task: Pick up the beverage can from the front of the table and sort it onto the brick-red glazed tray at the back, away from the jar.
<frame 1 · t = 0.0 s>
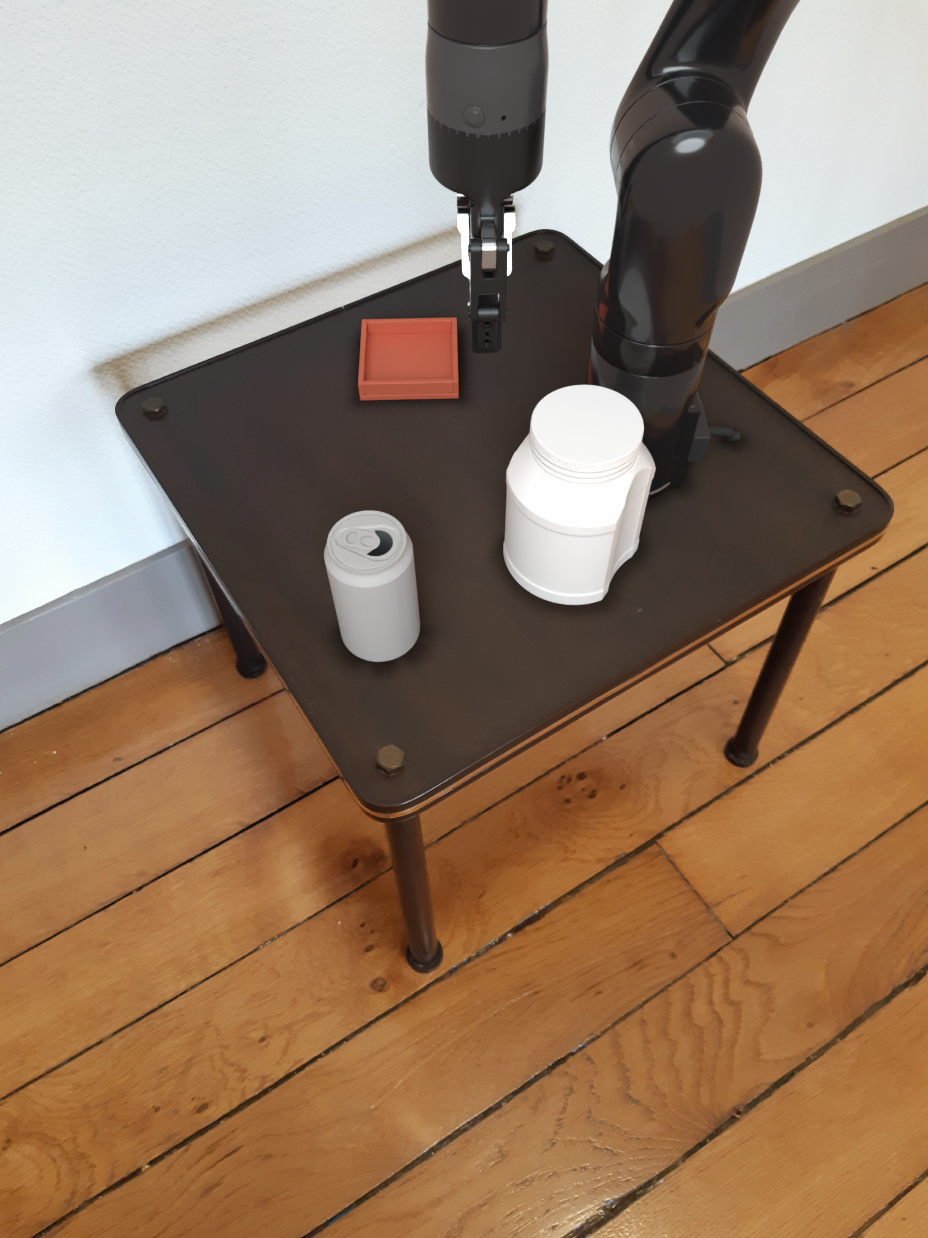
hand: (484, 312, 72), 17 cm above the table, tool pointing down, fingers open, 8 cm apart
jar: (569, 552, 81), on the table
beverage can: (381, 634, 76), on the table
red tray: (410, 366, 94), on the table
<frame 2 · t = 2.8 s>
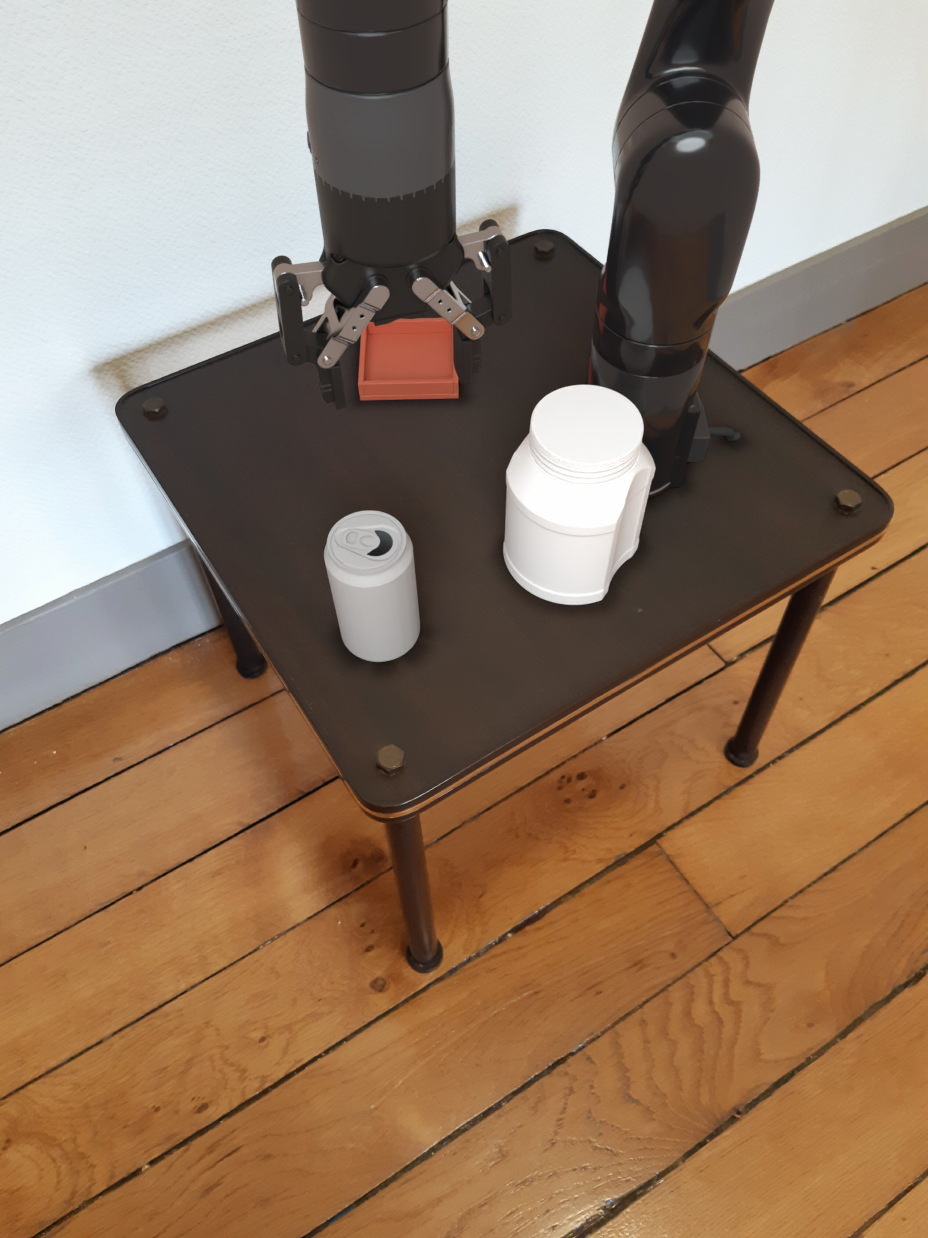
hand: (401, 387, 63), 21 cm above the table, tool pointing down, fingers open, 8 cm apart
nothing on the table moved.
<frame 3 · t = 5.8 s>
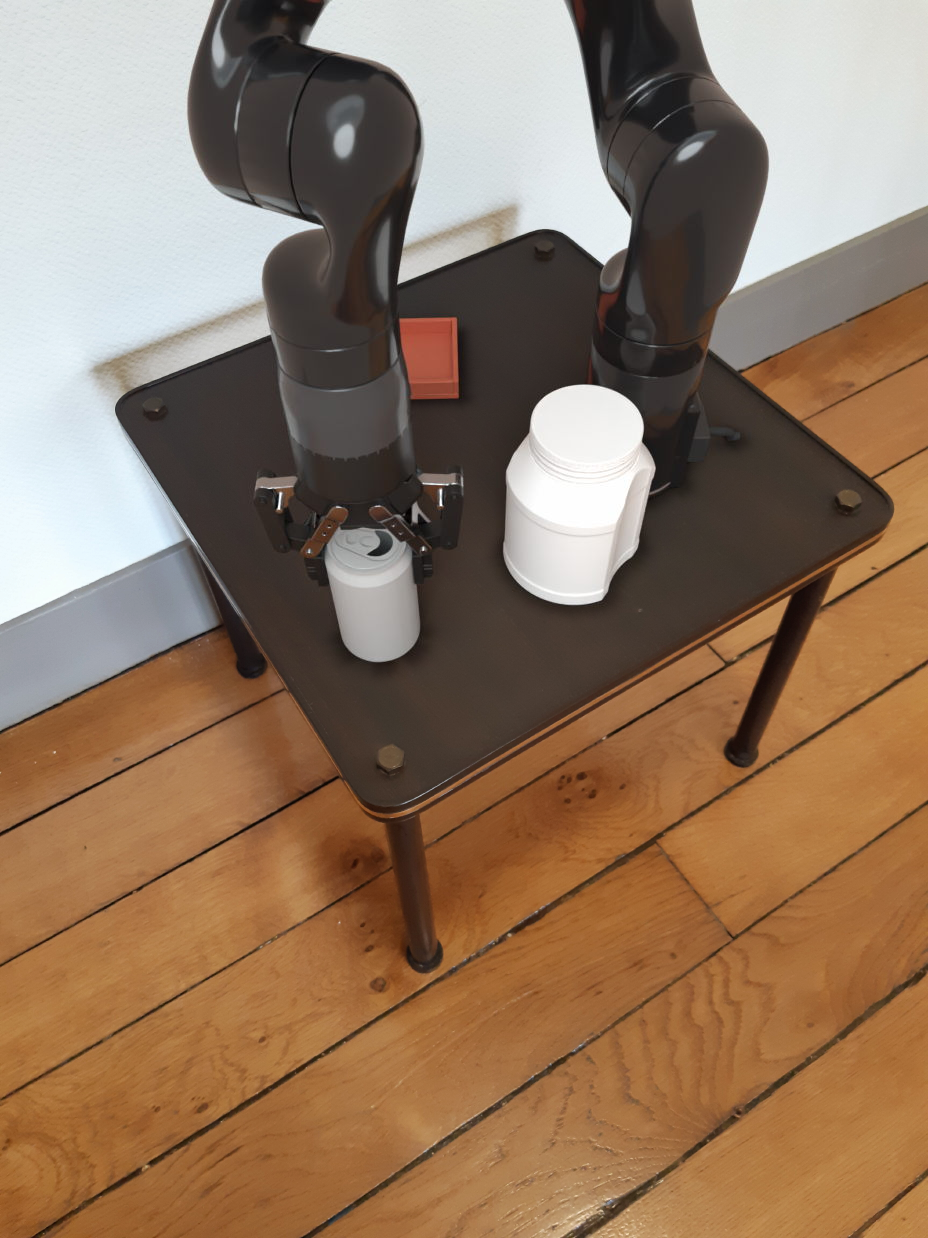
hand: (372, 575, 70), 8 cm above the table, tool pointing down, fingers closed on beverage can, 6 cm apart
beverage can: (381, 634, 76), on the table, touching gripper
everything else where it was.
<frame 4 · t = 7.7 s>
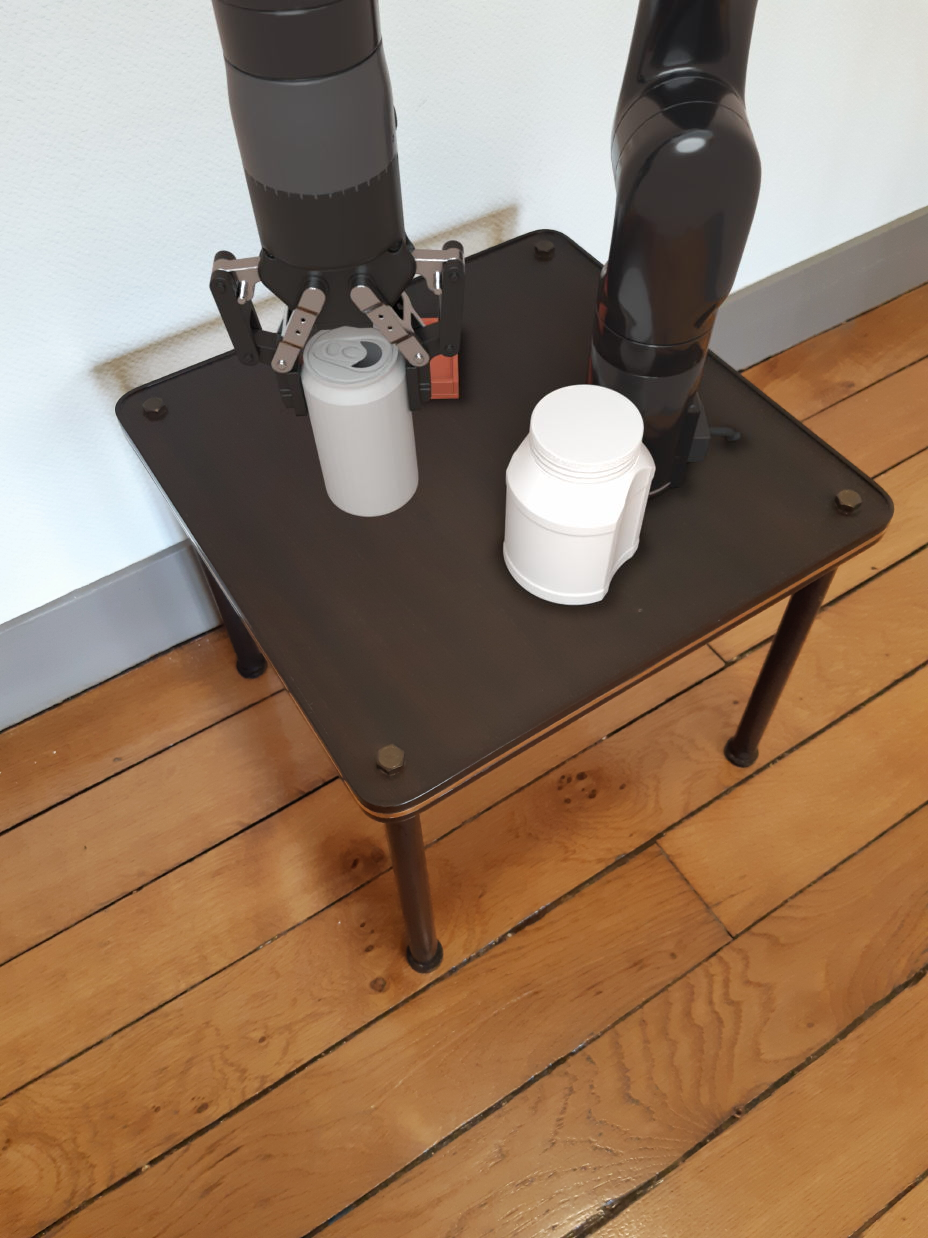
hand: (359, 403, 59), 23 cm above the table, tool pointing down, fingers closed on beverage can, 6 cm apart
beverage can: (373, 490, 65), point 15 cm above the table, touching gripper
everything else where it was.
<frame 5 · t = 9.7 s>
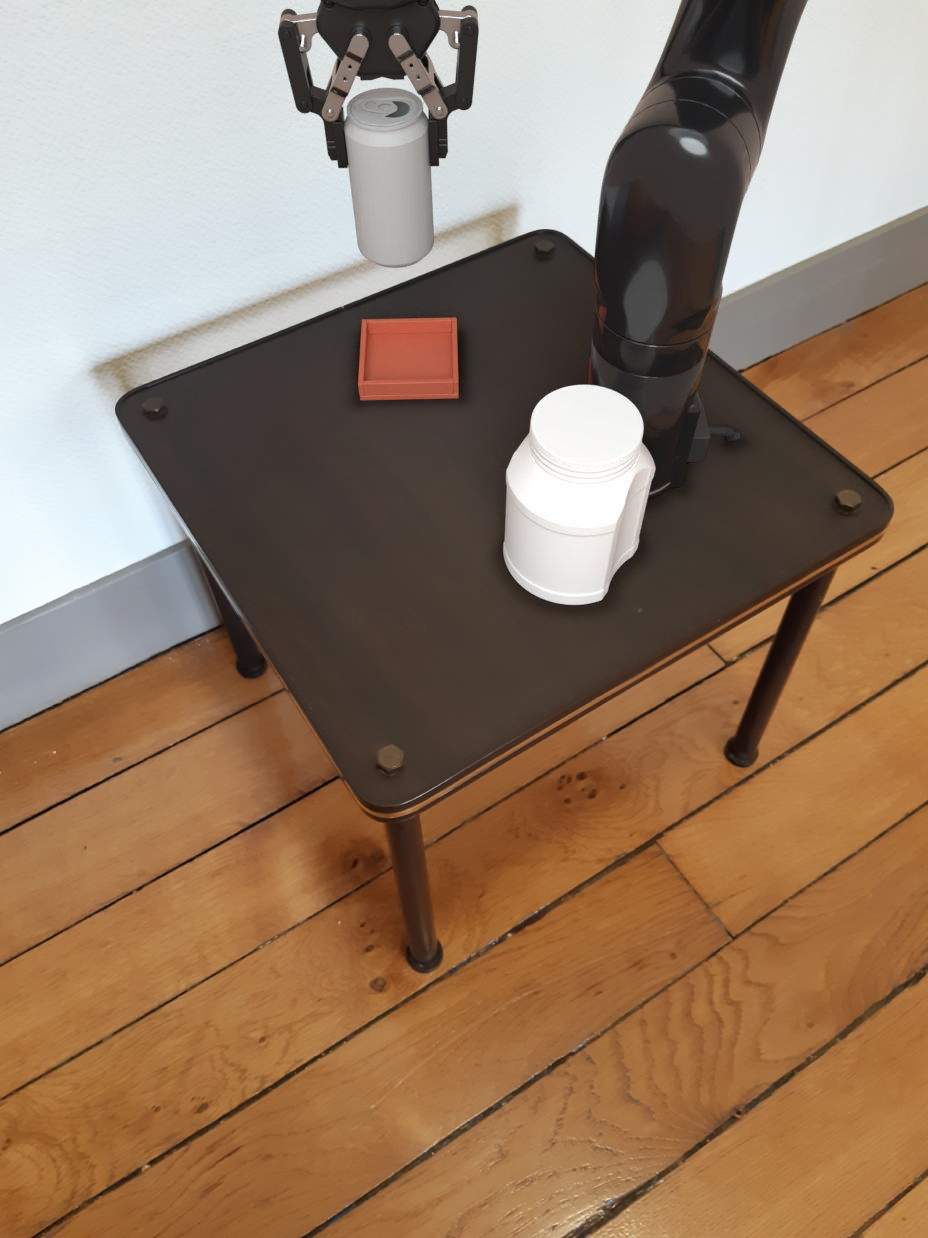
hand: (389, 160, 73), 24 cm above the table, tool pointing down, fingers closed on beverage can, 6 cm apart
beverage can: (396, 252, 79), point 16 cm above the table, touching gripper
everything else where it was.
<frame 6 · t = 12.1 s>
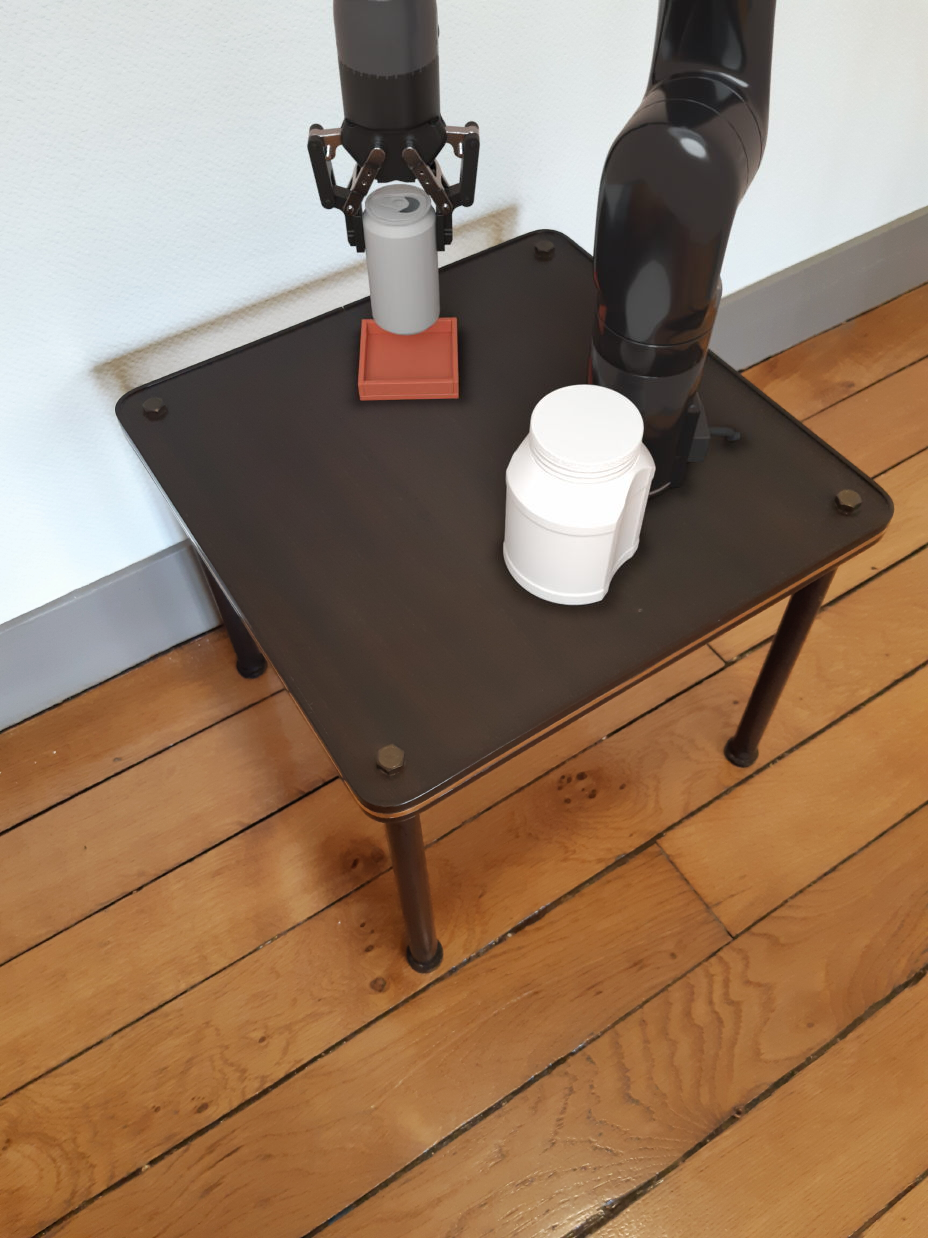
hand: (401, 246, 83), 14 cm above the table, tool pointing down, fingers closed on beverage can, 6 cm apart
beverage can: (406, 320, 90), point 6 cm above the table, touching gripper
everything else where it was.
when the fingers open (8 cm above the table, at t = 14.0 s): beverage can stays where it is, resting on red tray.
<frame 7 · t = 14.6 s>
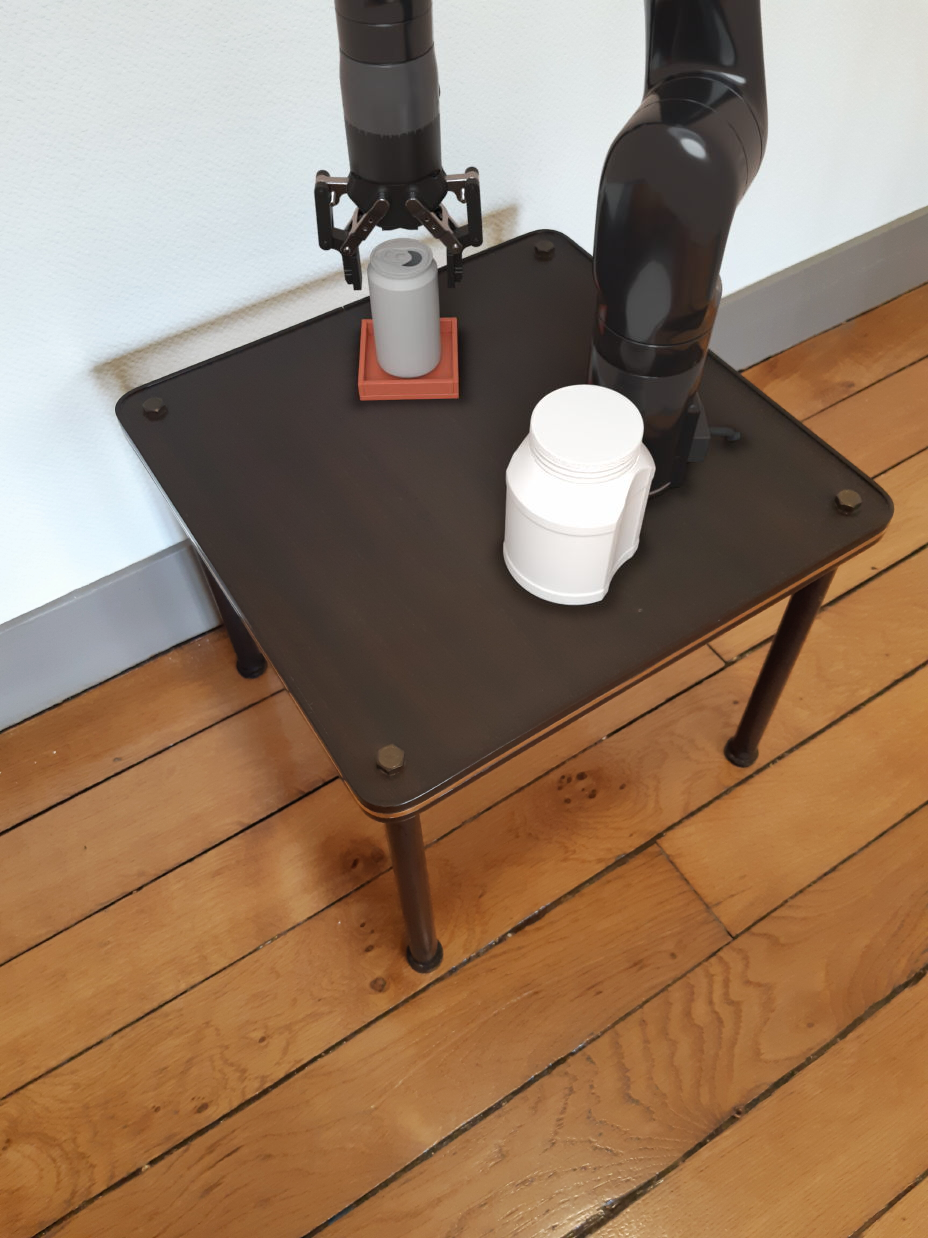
hand: (404, 283, 86), 10 cm above the table, tool pointing down, fingers open, 8 cm apart
beverage can: (409, 363, 94), resting on red tray
everything else where it was.
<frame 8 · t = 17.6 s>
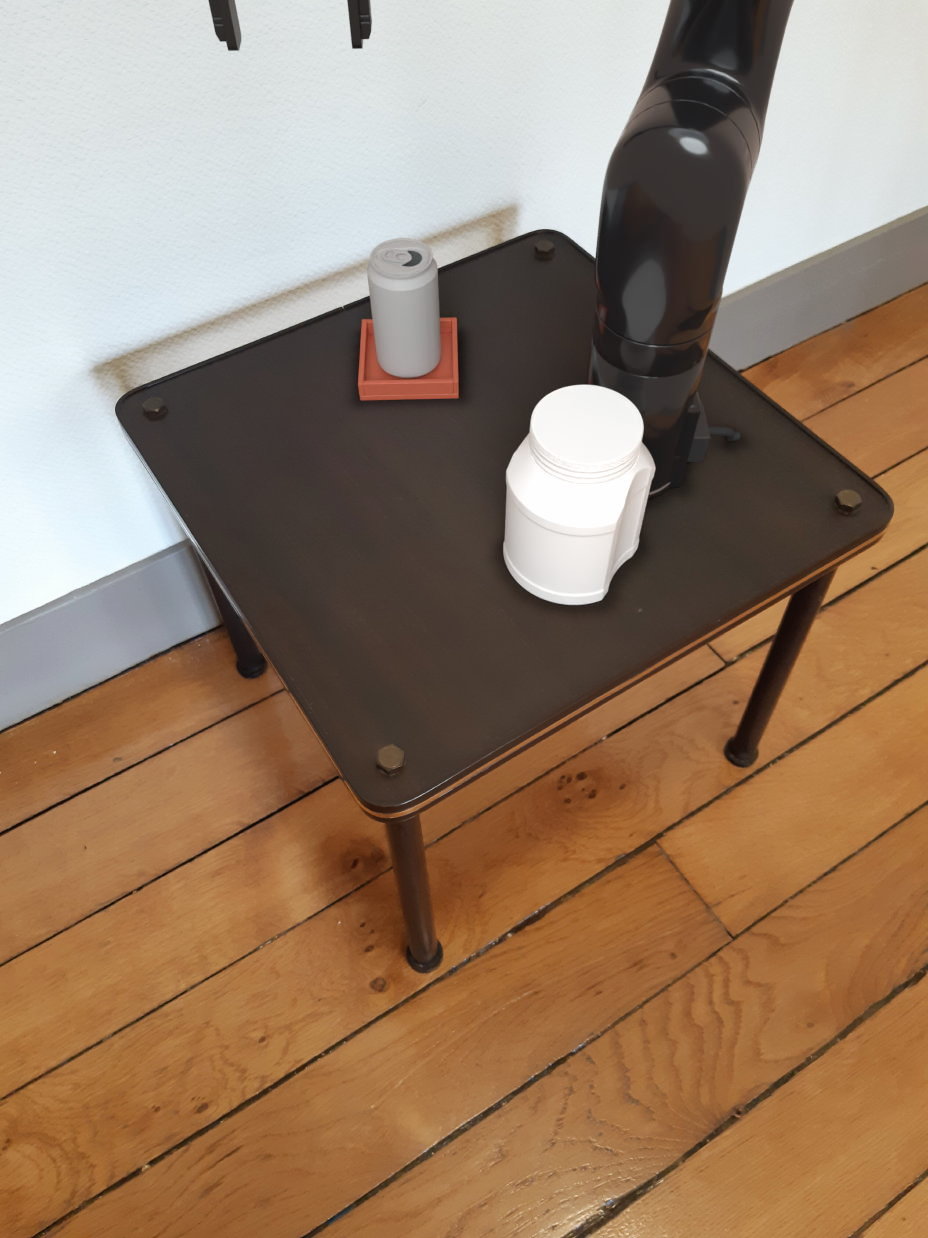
hand: (297, 44, 65), 32 cm above the table, tool pointing down, fingers open, 8 cm apart
nothing on the table moved.
at the end: beverage can 0.0 cm off-centre in the red tray, point 0.4 cm above the red tray's base; beverage can tilted 0°; the gripper is holding nothing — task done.
